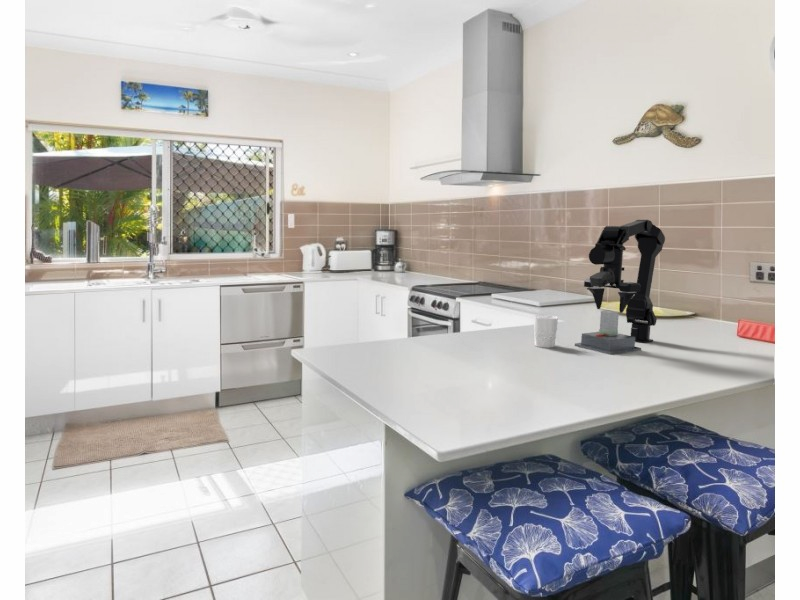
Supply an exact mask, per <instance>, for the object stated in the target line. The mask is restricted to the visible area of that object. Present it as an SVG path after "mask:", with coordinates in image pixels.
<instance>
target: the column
mask: <svg viewBox="0 0 800 600" xmlns="http://www.w3.org/2000/svg"><path fill="white" fill-rule="evenodd" d="M619 314H620V311H615V310H601V311H600V316H599V317H600V319H599V329H598V332H599V334H604V336H608V337H610V336H617V333H618V334H619V329H618V328H619Z"/></svg>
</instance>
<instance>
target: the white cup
mask: <svg viewBox="0 0 800 600" xmlns="http://www.w3.org/2000/svg"><path fill="white" fill-rule="evenodd" d="M558 320H559V317H558V316H556V315H547V314H546V315H544V314H539V315H538V314H537V315H534V316H533V334H534V335H533V338H534V346H536V347H538V348H544V349H545V348H547V349H551V348H554V347H556V339H557V331H558V324H559V323H558V322H559V321H558Z"/></svg>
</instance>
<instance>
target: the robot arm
mask: <svg viewBox="0 0 800 600" xmlns="http://www.w3.org/2000/svg"><path fill="white" fill-rule="evenodd" d="M632 236H634V239H635V240H636V242H637V248H638V251H639V253H640V261H639V267H638V271H637V279H636V282H632V281H626V282H625V281H624V279H622V271H625V267H623V257H624V251H626V250H627V248H626V247H625V246H624V244H625V243H626V242H628V241H629V240H630V237H632ZM665 242H666V237H665V234H664V232H663V231H662V230H661V228H660V227H658V226H656V225H655V224H654V223H653V222H652V221H651V220H649V219H637V220H635V221H632V222H629V223H625V224H622V225H606V226H605V227H604V228H603V230H602V231H601V232H600V235H599V237H598V239H597V241H596V243H594V244H595V246H594V247H592V248H591V250H590V251H589V253H588V259H589V261H590V263H591V264H593V265H596V266H597V265H600V268H599V271H598V272H596V273H593V274H592V275H590V276H589V278H586V279H584V282H583V287H585V288H586V290H588V291H589V292H591V294H592V297H593V300H594V303H595V306H596V309H597V310H600V309H601V307H602V303H603V299H604V294H605V288H610V289H617V290H619V291H618V292H617V294H618V295H619V306H618V307H619V314H623V313H624V311H625V318H626V323H627V324H631V328H630V336H633V337H635V342H639V343H647V342H648V343H649V342H653V341H654V339H652V338H650V335H651V327H652V326H656V325H657V324H656V323H657V317H656V315H655V311H653V308H654V304H653V302H652V300H651V298H650V295H651V288H652V282H653V276H654V270H655V264H656V258H657V256H658V255H659V254H660V253H661V252H662V250H663V247H664V244H665ZM601 265H603V266H601Z"/></svg>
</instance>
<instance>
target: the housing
mask: <svg viewBox="0 0 800 600" xmlns="http://www.w3.org/2000/svg"><path fill="white" fill-rule="evenodd" d="M580 340H581V342H577V343H574V347H578V348H582V349H585V350H591V351H595V352H598V353H602V354H607V355H610V356H611V355H616V354H625V353H632V352H639V351H642V347H638V346H635V345H636V341H635V337H633V336H631V335H627V334H623V333H619V332H618V333H617V336H610V337H608V336H604V334H599V331H595V332H592V331H591V332H585V333H581V339H580Z"/></svg>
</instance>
